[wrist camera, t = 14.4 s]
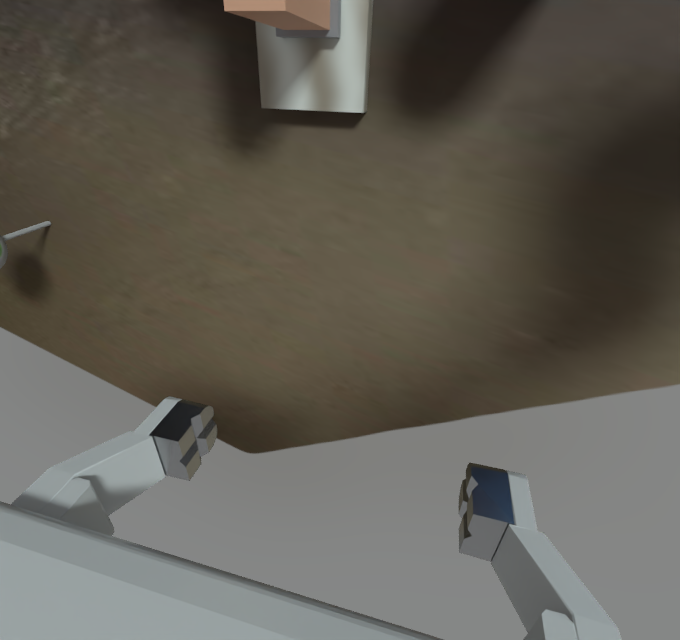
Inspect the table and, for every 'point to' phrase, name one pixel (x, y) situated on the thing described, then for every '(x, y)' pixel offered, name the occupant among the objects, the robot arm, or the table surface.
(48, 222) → the lollipop
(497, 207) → the table surface
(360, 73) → the tunnel track
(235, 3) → the block
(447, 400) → the table surface
